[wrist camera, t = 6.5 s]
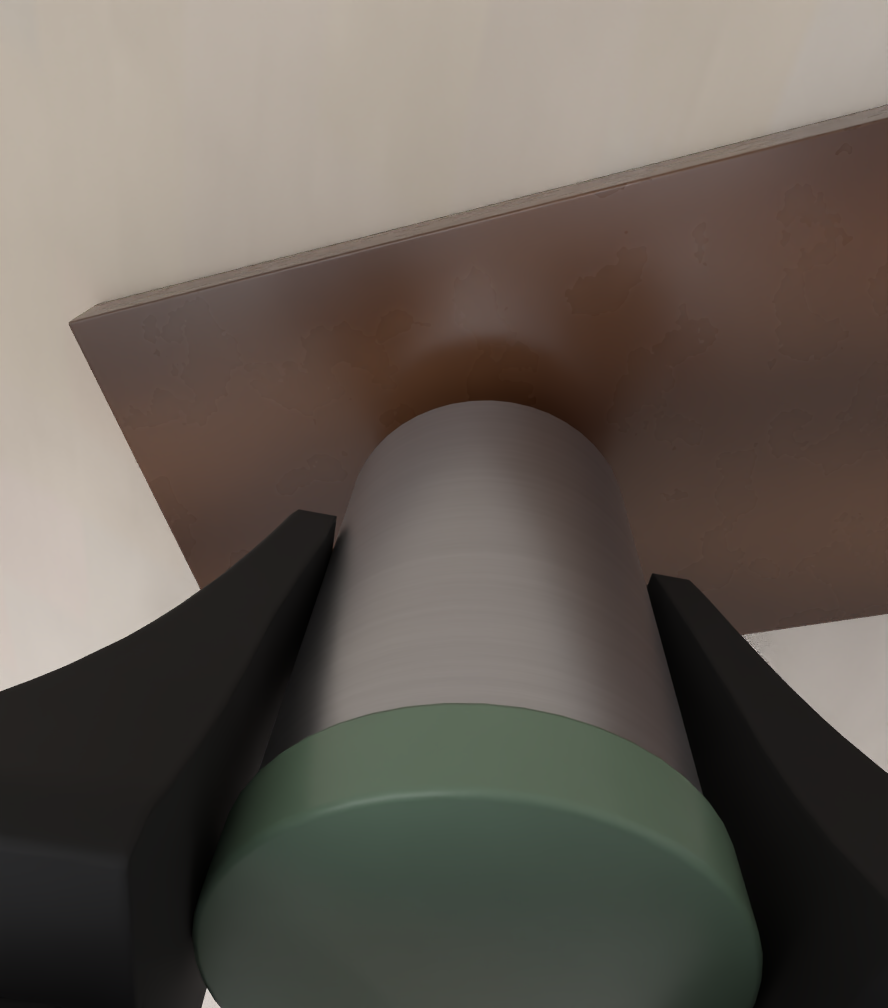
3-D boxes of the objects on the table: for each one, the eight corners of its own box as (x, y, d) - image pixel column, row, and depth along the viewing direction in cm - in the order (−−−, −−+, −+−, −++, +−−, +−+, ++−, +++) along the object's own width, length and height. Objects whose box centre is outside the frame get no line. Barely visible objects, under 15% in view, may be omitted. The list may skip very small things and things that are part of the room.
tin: (648, 615, 15) (777, 1106, 8) (387, 654, 16) (299, 1125, 9) (610, 360, 12) (749, 754, 5) (302, 424, 13) (87, 832, 6)
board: (1338, 510, 16) (1395, 541, 15) (269, 672, 20) (257, 705, 19) (1549, -64, 11) (1654, -75, 10) (95, 304, 16) (66, 322, 14)
